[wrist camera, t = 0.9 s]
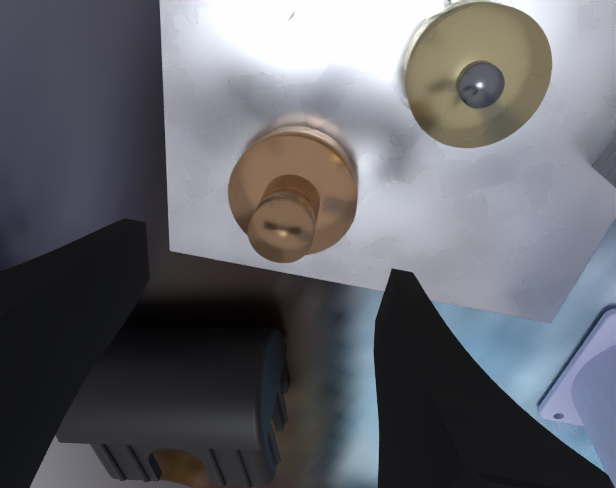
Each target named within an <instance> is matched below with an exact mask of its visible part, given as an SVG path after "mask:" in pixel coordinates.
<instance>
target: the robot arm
mask: <svg viewBox="0 0 616 488" xmlns="http://www.w3.org/2000/svg"><path fill="white" fill-rule="evenodd" d="M149 278H150V277H149V264H148V251H147V237H146V224H145V222H140V221H135V220H130V219H123V220H120V221H117V222H115V223H113V224H110V225H108V226H106V227H104V228H102V229H100V230H97V231H95V232H93V233H91V234H89V235H87V236H85V237H82V238H80V239H78V240H76V241H74V242H72V243H69V244H67V245H65V246H63V247H61V248H58V249H56V250H54V251H51V252H49V253H46V254H44V255H42V256H39V257H37V258H34V259H32V260H30V261H27V262H25V263H22V264H19V265H17V266H14V267H11V268H9V269H6V270H3V271H0V488H30V485H31V483H32V481H33V479H34V477H35V475H36V473H37V471H38V469H39V467H40V465H41V462H42V461H43V458H44V456H45V454H46V452H47V450H48V448H49V446H50V444H51V442H52V440H53V438H54V436H55V434H56V432H57V431H58V429H59V427H60V425H61V423H62V421H63V419H64V417H65V415H66V413H67V411H68V409H69V408H70V406H71V404H72V402H73V400H74V399H75V397H76V395H77V393H78V391H79V390H80V388H81V386H82V384H83V382H84V381H85V379H86V377H87V376H88V374H89V373H90V371H91V370H92V368H93V367H94V365H95V364H96V362H97V361H98V359H99V358H100V357H101V355H102V354H103V352H104V351H105V349H106V348H107V347H108V345H109V344H110V342H111V341H112V340H113V338H114V337H115V335H116V334H117V332H118V331H119V330H120V328H121V327H122V325H123V324H124V322H125V321H126V320H127V318H128V317H129V315H130V314H131V312H132V311H133V309H134V308H135V306H136V304H137V302H138V301H139V299H140V297H141V295H142V293H143V291H144V289H145V287H146V285H147V282H148V280H149ZM374 364H375V378H376V391H377V404H378V417H379V470H378V488H616V308H614V309H610V310H608V311H606V312H605V313H604V314H603V316H602V317H601V318H600V320H599V321H598V323H597V324H596V326H595V327H594V328H593V330H592V331H591V333H590V334H589V336H588V337H587V338H586V340H585V341H584V343H583V344H582V346H581V347H580V348H579V350H578V351H577V353H576V354H575V356H574V357H573V358H572V360H571V361H570V363H569V364H568V366H567V367H566V368H565V370H564V371H563V373H562V374H561V376H560V377H559V378H558V380H557V381H556V383H555V384H554V386H553V387H552V388H551V390H550V391H549V393H548V394H547V396H546V397H545V398H544V400H543V401H542V403H541V404H540V406H539V407H538V412H539V415H540V417H541V418H543V419H547V420H552V421H557V422H562V423H567V424H572V425H577V426H582V427H585V429H586V431H587V433H588V436H589V438H590V440H591V442H592V444H593V446H594V448H595V451H596V453H597V455H598V457H599V459H600V461H601V463H602V466H603V468H604V470H605V472H606V473H605V472H603V471H602V470H601V469H599V468H598V467H596V466H595V465H594V464H592V463H591V462H589V461H588V460H587V459H585V458H584V457H583V456H581V455H580V454H578V453H577V452H576V451H574V450H573V449H571V448H570V447H569V446H567V445H566V444H565V443H563V442H562V441H561V440H559V439H558V438H557V437H556V436H554V435H553V434H552V433H551V432H550V431H548V430H547V429H546V428H545V427H543V426H542V425H541V424H540V423H538V422H537V421H536V420H535V419H534V418H533V417H531V416H530V415H529V414H528V413H527V412H526V411H524V410H523V409H522V408H521V407H520V406H519V405H518V404H517V403H516V402H515V401H514V400H513V399H511V398H510V397H509V396H508V395H507V394H506V393H505V392H504V391H503V390H502V389H501V388H500V387H499V386H498V385H497V384H496V383H495V382H494V381H493V380H492V379H491V378H490V377H489V376H488V375H487V374H486V373H485V371H484V370H483V369H482V368H481V367H480V366H479V365H478V364H477V363H476V362H475V360H474V359H473V358H472V357H471V356H470V355H469V353H468V352H467V351H466V350H465V349H464V347H463V346H462V345H461V343H460V342H459V341H458V340H457V338H456V337H455V336H454V334H453V333H452V332H451V330H450V329H449V328H448V326H447V325H446V323H445V322H444V320H443V319H442V317H441V316H440V314H439V313H438V311H437V310H436V308H435V307H434V305H433V304H432V302H431V301H430V299H429V297H428V296H427V294H426V292H425V291H424V289H423V288H422V286H421V284H420V283H419V281H418V279H417V278H416V276H415V275H414V273H413V272H409V271H404V270H398V269H393V268H392V269H391V272H390V276H389V279H388V282H387V285H386V288H385V292H384V295H383V298H382V301H381V304H380V308H379V311H378V314H377V317H376V320H375V335H374Z"/></svg>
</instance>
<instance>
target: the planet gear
mask: <svg viewBox="0 0 616 488" xmlns="http://www.w3.org/2000/svg"><path fill="white" fill-rule="evenodd" d="M357 198H358V179H357V173H356V170H355V167H354V164H353V162H352V160H351V158H350V157H349V155H348V153H347V152H346V151H345V150H344V148H343V147H342V146H341V145H340V144H339V143H338V142H337V141H335V140H334V139H333V138H331V137H330V136H328V135H326V134H324V133H323V132H320V131H318V130H315V129H312V128H308V127H303V126H284V127H279V128H275V129H272V130H270V131H267V132H265V133H264V134H262V135H260V136H259V137H257V138H256V139H255V140H254V141H253V142H252V143H251V144H250V145H249V146H248V147H247V149H246V150H245V152H244V153H243V154H242V156H241V157H240V159H239V160H238V162H237V163H236V165H235V166H234V168H233V171H232V173H231V176H230V179H229V184H228V200H229V205H230V209H231V212H232V214H233V216H234V219H235V220H236V222H237V224H238V225H239V227H240V228H241V229H242V230H243V232H244V233H245V234H246V235H247V236H248V239H249V242H250V244H251V246H252V247H253V249H254V250H255V251H256V252H257V253H258V254H259V255H260V256H262V257H263V258H265V259H267V260H269V261H272V262H276V263H291V262H295V261H297V260H299V259H301V258H303V257H304V256H305V255H310V254H315V253H318V252H321V251H324V250H326V249H328V248H330V247H331V246H333V245H334V244H336V243H337V242H338V241H339V240H341V239H342V238H343V236H344V235H345V234H346V233H347V231H348V230H349V229H350V227H351V225H352V223H353V221H354V218H355V215H356V210H357Z"/></svg>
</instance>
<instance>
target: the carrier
mask: <svg viewBox="0 0 616 488" xmlns="http://www.w3.org/2000/svg"><path fill="white" fill-rule="evenodd" d="M160 19H161V44H162V69H163V94H164V118H165V143H166V168H167V193H168V218H169V243H170V251H174V252H179V253H184V254H189V255H195V256H200V257H205V258H211V259H216V260H221V261H226V262H232V263H237V264H242V265H247V266H253V267H258V268H263V269H268V270H274V271H279V272H284V273H289V274H295V275H300V276H305V277H311V278H316V279H321V280H326V281H332V282H337V283H342V284H347V285H353V286H358V287H363V288H368V289H374V290H379V291H384V292H385V288H386V285H387V282H388V279H389V276H390V272H391V269H392V268H393V269H398V270H404V271H409V272H413V273H414V275H415V276H416V278H417V279H418V281H419V283H420V284H421V286H422V288H423V289H424V291H425V292H426V294H427V296H428V297H429V299H430V300H432V301H437V302H442V303H447V304H453V305H458V306H463V307H468V308H474V309H479V310H484V311H489V312H495V313H500V314H505V315H511V316H516V317H521V318H526V319H532V320H537V321H542V322H547V323H551V322H552V320H553V319H554V317H555V316H556V314H557V312H558V311H559V309H560V307H561V306H562V304H563V303H564V301H565V299H566V298H567V296H568V295H569V293H570V291H571V290H572V288H573V286H574V285H575V283H576V282H577V280H578V278H579V277H580V275H581V274H582V272H583V270H584V269H585V267H586V265H587V264H588V262H589V261H590V259H591V257H592V256H593V254H594V253H595V251H596V249H597V248H598V246H599V244H600V243H601V241H602V240H603V238H604V236H605V235H606V233H607V232H608V230H609V228H610V227H611V225H612V223H613V222H614V220H615V219H616V0H160ZM284 126H303V127H308V128H312V129H315V130H318V131H320V132H323V133H324V134H326V135H328V136H330V137H331V138H333V139H334V140H335V141H337V142H338V143H339V144H340V145H341V146H342V147H343V148H344V150H345V151H346V152H347V153H348V155H349V157H350V158H351V160H352V162H353V164H354V167H355V170H356V173H357V179H358V198H357V210H356V215H355V218H354V221H353V223H352V225H351V227H350V229H349V230H348V231H347V233H346V234H345V235H344V236H343V238H342V239H341V240H339V241H338V242H337V243H336V244H334V245H333V246H331V247H330V248H328V249H326V250H324V251H321V252H318V253H315V254H310V255H305V256H304V257H303V258H301V259H299V260H297V261H295V262H291V263H276V262H272V261H269V260H267V259H265V258H263V257H262V256H260V255H259V254H258V253H257V252H256V251H255V250H254V249H253V247H252V246H251V244H250V242H249V239H248V236H247V235H246V234H245V233H244V232H243V230H242V229H241V228H240V227H239V225H238V224H237V222H236V220H235V219H234V216H233V214H232V212H231V209H230V205H229V200H228V184H229V179H230V176H231V173H232V171H233V168H234V166H235V165H236V163H237V162H238V160H239V159H240V157H241V156H242V154H243V153H244V152H245V150H246V149H247V147H248V146H249V145H250V144H251V143H252V142H253V141H254V140H255V139H256V138H257V137H259V136H260V135H262V134H264V133H265V132H267V131H270V130H272V129H275V128H279V127H284Z"/></svg>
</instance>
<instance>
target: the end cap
mask: <svg viewBox="0 0 616 488" xmlns="http://www.w3.org/2000/svg"><path fill="white" fill-rule="evenodd" d="M286 351H287V347H286V343H285V340H284V338H283V335H282V334H281V332H280V331H279V330H278V329H276V328H274V327H221V328H120V330H119V331H118V332H117V334H116V335H115V337H114V338H113V340H112V341H111V342H110V344H109V345H108V347H107V348H106V349H105V351H104V352H103V354H102V355H101V357H100V358H99V359H98V361H97V362H96V364H95V365H94V367H93V368H92V370H91V371H90V373H89V374H88V376H87V377H86V379H85V381H84V382H83V384H82V386H81V388H80V390H79V391H78V393H77V395H76V397H75V399H74V400H73V402H72V404H71V406H70V408H69V409H68V411H67V413H66V415H65V417H64V419H63V421H62V423H61V425H60V427H59V429H58V431H57V432H56V434H55V435H56V437H57V439H58V441H59V442H61V443H85V444H90V445H91V447H92V448H93V450H94V452H95V453H96V455H97V456H98V458H99V460H100V461H101V462H102V464H103V466H104V467H105V469H106V470H107V472H108V474H109V475H110V476H111V477H112V478H114V479H119V480H120V481H124V480H126V479H128V480H143V481H144V482H148V481H159V479H160V477H161V474H162V471H161V469H160V468H159V466H158V464H157V462H156V460H155V458H154V456H153V454H152V452H153V451H154V450H157V449H161V448H172V449H178V450H182V451H185V452H187V453H189V454H192V455H193V456H195V457H196V458H198V459H199V460H200V461H201V462H202V463H203V464H204V466H205V468H206V470H207V472H208V475H209V477H210V479H211V482H212V484H219V485H220V486H225V485H237V486H246V488H250V487H252V486H255V487H262V486H265V485H268V484H269V483H270V482H271V481H272V480H273V478H274V475H275V471H276V465H277V464H278V463H279V462H280V461H281V458H280V455H279V451H278V447H277V444H276V440H275V436H274V433H273V429H272V425H271V419H272V418H273V422H274V426H275V430H276V431H283V428H284V425H285V424H286V423H287V421H288V418H287V413H286V406H285V402H284V398H283V394H285V393H286V392H288V388H289V383H290V379H289V374H288V370H287V365H286V360H285V355H286Z"/></svg>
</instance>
